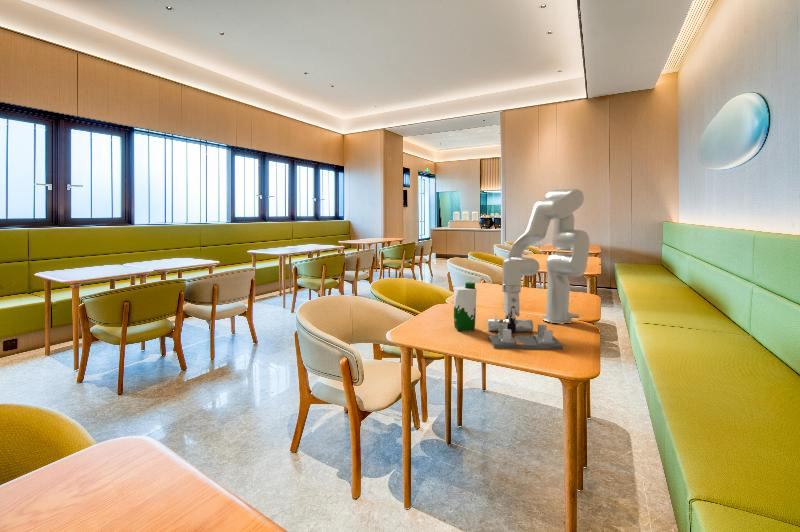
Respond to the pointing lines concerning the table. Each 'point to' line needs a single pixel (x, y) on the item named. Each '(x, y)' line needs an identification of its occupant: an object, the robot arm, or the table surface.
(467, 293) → the milk carton
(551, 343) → the cylinder mounting fixture
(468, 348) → the table surface
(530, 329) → the banded metal cylinder
